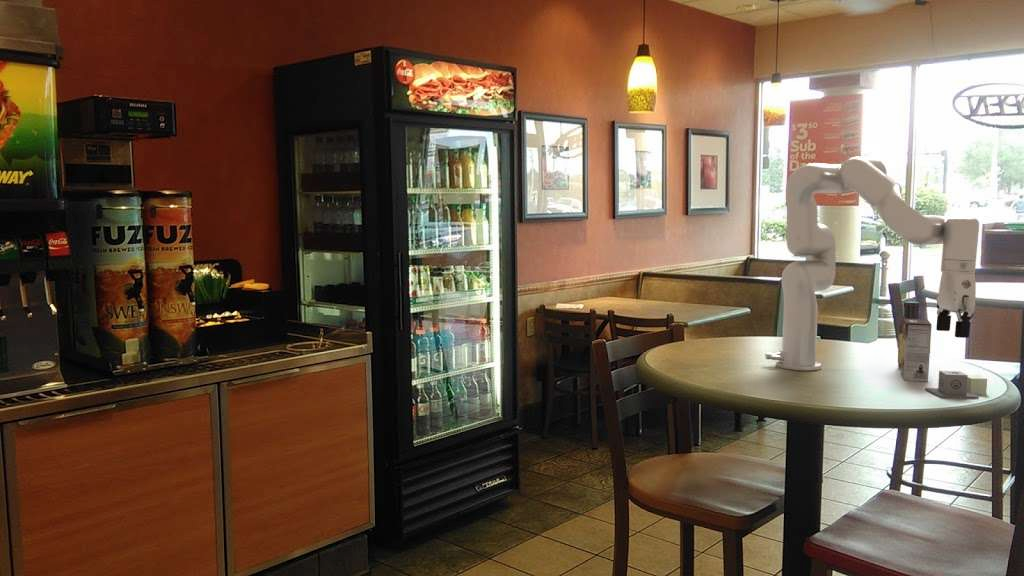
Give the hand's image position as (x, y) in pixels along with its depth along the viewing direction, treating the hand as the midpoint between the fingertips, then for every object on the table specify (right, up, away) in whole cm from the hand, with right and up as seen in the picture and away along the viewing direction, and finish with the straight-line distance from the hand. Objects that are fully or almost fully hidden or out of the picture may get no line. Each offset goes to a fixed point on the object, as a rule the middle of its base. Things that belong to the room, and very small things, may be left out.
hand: (952, 333), depth 202 cm
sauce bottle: (+6, -13, +34) cm, 36 cm away
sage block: (+8, -15, +4) cm, 18 cm away
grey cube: (+1, -15, +1) cm, 15 cm away
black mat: (0, -15, +1) cm, 15 cm away
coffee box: (+1, -14, +21) cm, 25 cm away
